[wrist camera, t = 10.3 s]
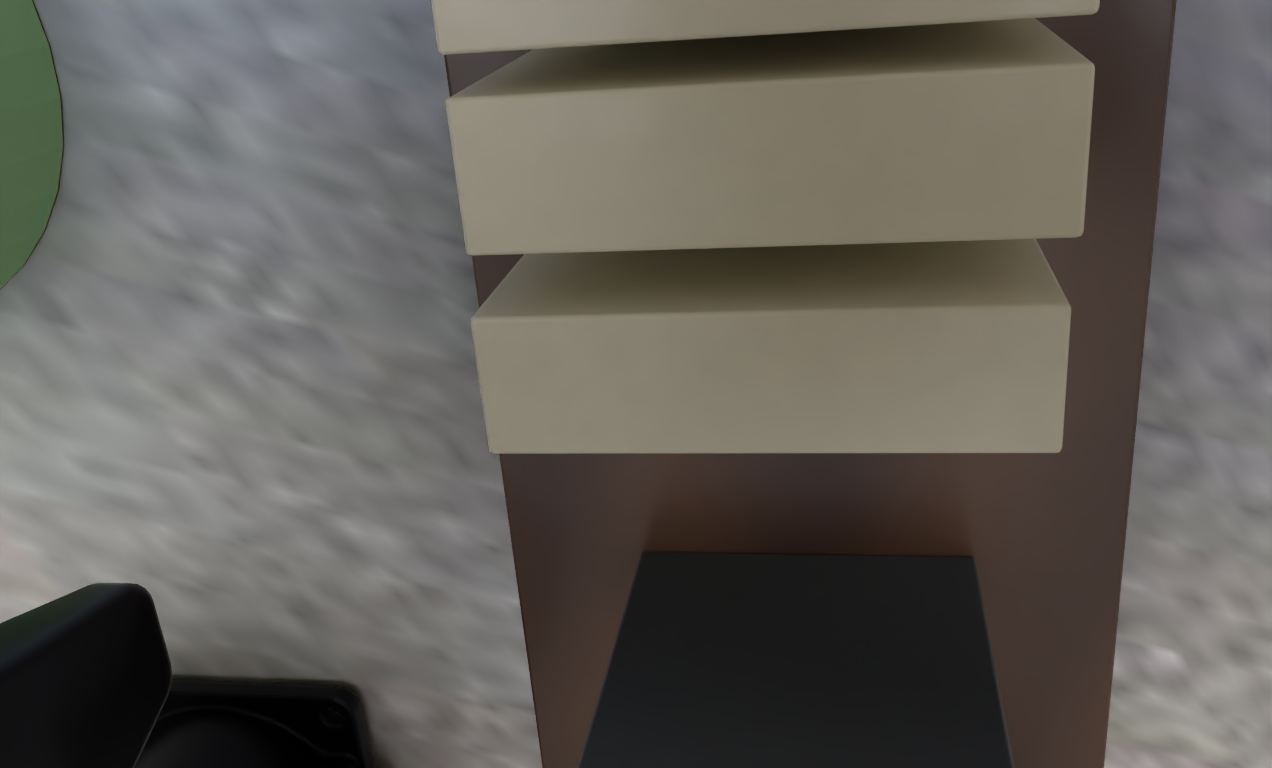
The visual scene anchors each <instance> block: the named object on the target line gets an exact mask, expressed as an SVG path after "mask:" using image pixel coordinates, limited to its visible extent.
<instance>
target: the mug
mask: <svg viewBox="0 0 1272 768" xmlns="http://www.w3.org/2000/svg"><path fill="white" fill-rule="evenodd" d="M62 152H63V134H62V116H61V98H60V93H59V88H58V84H57V79H56V75H55V70H54V65H53V61H52V56H51V52H50V47H49V44H48V41H47V39H46V36H45V34H44V31H43V28H42V26H41V23H40V20H39V18H38V15H37V12H36V10H35V7H34V4H33V2H32V0H0V289H1V288H2V287H3V286H4V285H5V284H6V283H7V282H8V281H9V280H10V279H11V278H12V277H13V276H14V275H15V274H16V273H17V272H18V270H19V269H20V268H21V267H22V266H23V265H24V264H25V263H26V261H27V259H28V258H29V256H30V254H31V253H32V251H33V249H34V248H35V246H36V244H37V243H38V241H39V239H40V238H41V236H42V234H43V233H44V231H45V228H46V225H47V222H48V219H49V216H50V213H51V210H52V207H53V204H54V201H55V198H56V195H57V192H58V184H59V176H60V168H61V160H62Z"/></svg>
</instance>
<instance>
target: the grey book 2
mask: <svg viewBox="0 0 1272 768" xmlns="http://www.w3.org/2000/svg"><path fill="white" fill-rule="evenodd" d="M577 768H1014V762H1013V757H1012V752H1011V747H1010V741H1009V736H1008V731H1007V726H1006V720H1005V715H1004V710H1003V704H1002V699H1001V694H1000V689H999V683H998V678H997V673H996V667H995V662H994V657H993V652H992V646H991V641H990V636H989V631H988V625H987V620H986V615H985V609H984V604H983V599H982V594H981V588H980V583H979V578H978V573H977V567H976V562H975V559H974V558H972V557H915V556H854V555H793V554H732V553H671V552H642V553H641V556H640V559H639V562H638V566H637V569H636V573H635V576H634V579H633V583H632V586H631V589H630V593H629V596H628V599H627V603H626V606H625V609H624V613H623V616H622V620H621V623H620V626H619V630H618V633H617V636H616V640H615V643H614V646H613V650H612V653H611V656H610V660H609V663H608V666H607V670H606V673H605V677H604V680H603V683H602V687H601V690H600V693H599V697H598V700H597V703H596V707H595V710H594V713H593V717H592V720H591V724H590V727H589V730H588V734H587V737H586V740H585V744H584V747H583V750H582V754H581V757H580V760H579V764H578V767H577Z"/></svg>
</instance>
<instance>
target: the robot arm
mask: <svg viewBox="0 0 1272 768" xmlns="http://www.w3.org/2000/svg"><path fill="white" fill-rule="evenodd" d="M330 706H331V707H335V708H337V709H339V710H340V711H341V712H342V714H340V713H337V712H335V711H334V710H332V709H331V707H330ZM0 768H374V764H373V759H372V754H371V749H370V745H369V740H368V735H367V730H366V725H365V721H364V716H363V711H362V706H361V703H360V701H359V699H358V697H357V696H356V695H355V694H354V693H353V692H352V691H350V690H348V689H346V688H344V687H340V686H331V685H305V684H280V683H254V682H228V681H202V680H177V679H172V670H171V662H170V659H169V655H168V652H167V648H166V644H165V641H164V637H163V634H162V630H161V627H160V623H159V620H158V616H157V613H156V609H155V605H154V602H153V599H152V597H151V595H150V594H149V592H148V591H147V590H146V589H145V588H144V587H142V586H140V585H139V584H131V583H96V584H91V585H88V586H86V587H84V588H81V589H79V590H77V591H74V592H72V593H70V594H68V595H65V596H63V597H61V598H58V599H56V600H54V601H51V602H49V603H47V604H44V605H42V606H40V607H37V608H35V609H33V610H30V611H28V612H26V613H23V614H21V615H19V616H16V617H14V618H12V619H9V620H7V621H5V622H3V623H0Z"/></svg>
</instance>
